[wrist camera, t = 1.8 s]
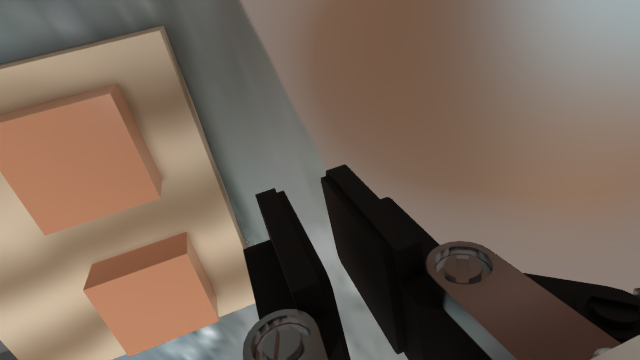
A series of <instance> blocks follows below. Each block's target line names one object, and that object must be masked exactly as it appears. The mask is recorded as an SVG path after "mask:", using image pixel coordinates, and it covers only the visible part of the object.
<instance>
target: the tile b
mask: <svg viewBox="0 0 640 360" xmlns="http://www.w3.org/2000/svg"><path fill="white" fill-rule="evenodd" d="M83 292H84V293H85V294H86V296H87V297H88V299H89V300H90V302H91V303H92V304H93V306H94V307H95V309H96V310H97V312H98V313H99V315H100V316H101V317H102V319H103V320H104V322H105V323H106V325H107V326H108V328H109V329H110V330H111V332H112V333H113V335H114V336H115V338H116V339H117V340H118V342H119V343H120V345H121V346H122V348H123V349H124V351H125V352H126V353H127V355H128V356H129V357H130V356H132V355H135V354H137V353H140V352H142V351H145V350H147V349H150V348H152V347H155V346H157V345H160V344H162V343H165V342H167V341H170V340H173V339H175V338H178V337H180V336H183V335H185V334H188V333H190V332H193V331H195V330H198V329H200V328H203V327H205V326H208V325H210V324H213V323H215V322H218V321H219V314H218V305H217V296H216V294H215V292H214V290H213V288H212V285H211V283H210V281H209V279H208V277H207V275H206V273H205V270H204V268H203V266H202V264H201V262H200V260H199V257H198V255H197V253H196V251H195V249H194V247H193V244H192V242H191V240H190V238H189V236H188V234H187V232H184V233H182V234H179V235H176V236H173V237H170V238H167V239H164V240H161V241H158V242H155V243H153V244H150V245H147V246H144V247H141V248H138V249H135V250H132V251H129V252H127V253H124V254H121V255H118V256H115V257H112V258H109V259H106V260H103V261H100V262H98V263H95V264H92V266H91V268H90V271H89V274H88V277H87V280H86V283H85V286H84V289H83Z"/></svg>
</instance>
